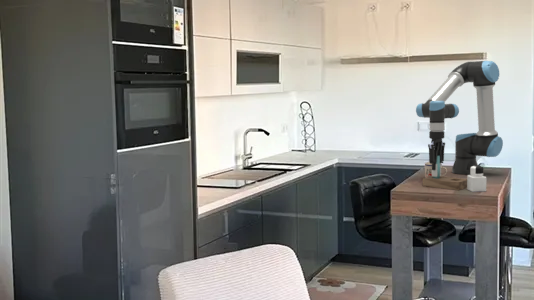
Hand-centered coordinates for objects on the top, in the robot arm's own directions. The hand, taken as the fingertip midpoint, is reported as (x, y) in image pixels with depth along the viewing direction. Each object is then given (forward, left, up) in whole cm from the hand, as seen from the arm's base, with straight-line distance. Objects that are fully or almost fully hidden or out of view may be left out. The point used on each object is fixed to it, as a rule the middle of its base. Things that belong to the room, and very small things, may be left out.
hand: (436, 175), depth 323 cm
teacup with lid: (-16, -10, -5) cm, 19 cm away
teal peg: (0, 0, -5) cm, 5 cm away
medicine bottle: (+1, +23, -5) cm, 23 cm away
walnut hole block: (0, +5, -5) cm, 7 cm away
